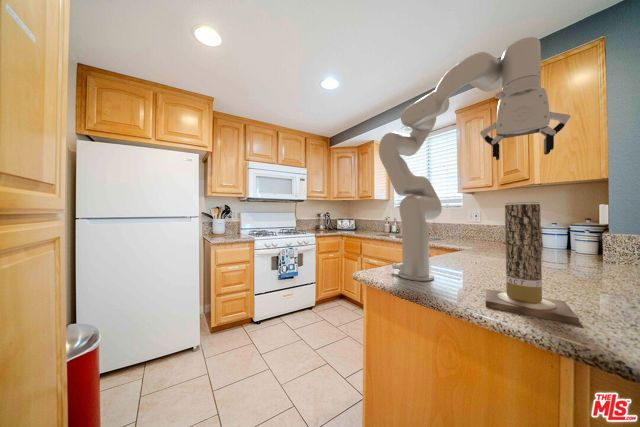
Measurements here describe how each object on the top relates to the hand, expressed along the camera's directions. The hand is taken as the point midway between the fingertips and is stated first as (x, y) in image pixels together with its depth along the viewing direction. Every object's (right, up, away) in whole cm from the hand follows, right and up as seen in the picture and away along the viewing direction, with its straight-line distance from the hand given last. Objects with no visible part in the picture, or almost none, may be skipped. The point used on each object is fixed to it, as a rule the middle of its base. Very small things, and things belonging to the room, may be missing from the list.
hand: (521, 156), depth 58 cm
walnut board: (0, -39, -1) cm, 39 cm away
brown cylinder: (0, -37, -1) cm, 37 cm away
